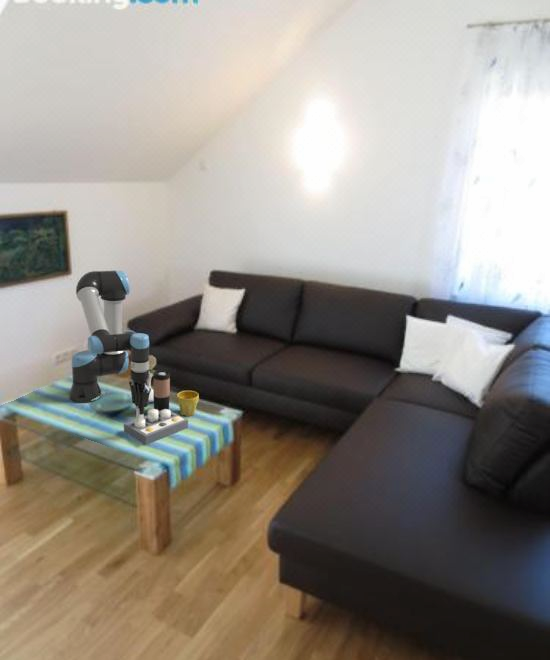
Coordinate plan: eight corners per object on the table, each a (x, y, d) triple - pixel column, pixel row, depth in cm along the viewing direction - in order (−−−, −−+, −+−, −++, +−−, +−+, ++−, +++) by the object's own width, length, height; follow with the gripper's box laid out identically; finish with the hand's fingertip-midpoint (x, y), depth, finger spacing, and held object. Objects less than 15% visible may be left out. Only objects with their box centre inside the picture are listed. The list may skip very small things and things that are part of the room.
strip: (139, 431, 212) (139, 429, 212) (178, 416, 228) (178, 415, 228) (145, 434, 209) (145, 433, 209) (184, 419, 225) (184, 418, 225)
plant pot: (173, 415, 237) (173, 396, 235) (182, 407, 247) (182, 389, 244) (193, 419, 235) (193, 400, 232) (201, 410, 245) (202, 392, 242)
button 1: (132, 430, 218) (132, 420, 217) (141, 427, 222) (141, 417, 220) (138, 434, 215) (138, 423, 214) (147, 430, 219) (147, 420, 217)
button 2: (145, 421, 223) (145, 410, 221) (154, 418, 226) (154, 408, 225) (152, 424, 220) (152, 414, 219) (160, 421, 223) (160, 411, 222)
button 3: (158, 421, 229) (158, 411, 227) (166, 418, 232) (166, 408, 231) (164, 424, 226) (164, 414, 224) (172, 421, 229) (172, 411, 228)
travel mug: (155, 415, 236) (155, 376, 231) (151, 408, 242) (151, 370, 237) (171, 413, 240) (171, 374, 234) (166, 406, 246) (167, 369, 241)
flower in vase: (132, 398, 252) (132, 352, 246) (152, 393, 260) (152, 348, 253) (145, 407, 243) (145, 359, 237) (165, 402, 251) (166, 355, 244)
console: (123, 431, 219) (123, 423, 218) (165, 416, 236) (165, 408, 235) (145, 445, 209) (145, 436, 208) (187, 428, 226) (188, 420, 225)
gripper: (123, 367, 212) (123, 417, 218) (141, 376, 204) (141, 427, 210) (138, 363, 217) (138, 412, 224) (156, 371, 209) (156, 422, 216)
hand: (140, 420), depth 217 cm, fingers closed
